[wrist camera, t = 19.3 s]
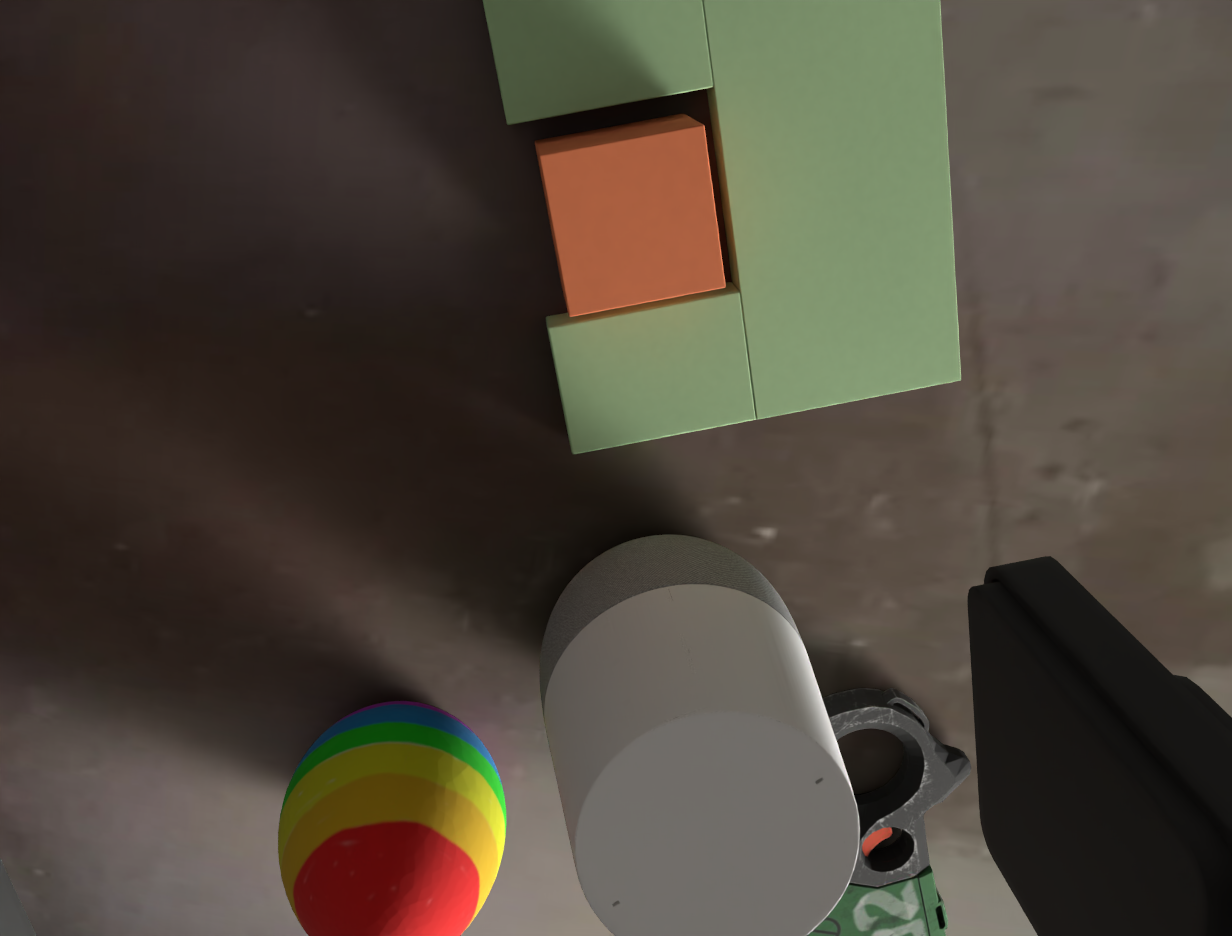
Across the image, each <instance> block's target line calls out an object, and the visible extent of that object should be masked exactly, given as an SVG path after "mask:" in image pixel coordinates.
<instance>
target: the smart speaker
mask: <svg viewBox="0 0 1232 936" xmlns="http://www.w3.org/2000/svg"><path fill="white" fill-rule="evenodd" d="M540 691H541V700H542V708H543V715H544V722H545V728H546V733H547V738H548V742H549V747H550V752H551V756H552V761H553V765H554V770H555V775H556V779H557V784H558V789H559V793H560V798H561V802H562V807H563V812H564V816H565V821H566V826H567V830H568V835H569V839H570V844H571V849H572V853H573V858H574V863H575V867H576V871H577V875H578V879H579V882H580V885H581V888H582V890H583V892H584V895H585V897H586V899H587V901H588V902H589V904H590V906H591V908H592V909H593V911H594V912H595V914H596V915H597V917H598V918H599V919H600V921H601V922H602V923H603V924H604V925H605V926H606V927H607V929H608V930H609V931H610V932H611V933H613V934H614V935H615V936H807V935H808V934H809V933H810V932H812V931H813V930H814V929H815V928H816V927H817V926H818V925H819V924H820V923H821V922H822V921H823V920H824V919H825V918H826V917H827V916H828V915H829V913H830V912H831V911H832V910H833V909H834V907H835V906H836V904H837V903H838V901H839V900H840V899H841V897H842V895H843V894H844V892H845V890H846V888H847V886H848V884H849V882H850V879H851V876H852V874H853V871H854V868H855V864H856V860H857V856H858V850H859V839H860V825H859V815H858V809H857V804H856V800H855V797H854V793H853V790H852V786H851V783H850V780H849V777H848V774H847V771H846V768H845V765H844V762H843V759H842V756H841V753H840V750H839V747H838V744H837V741H836V738H835V735H834V732H833V729H832V726H831V723H830V720H829V717H828V714H827V711H826V708H825V705H824V702H823V699H822V696H821V693H820V690H819V687H818V684H817V681H816V678H815V675H814V672H813V669H812V666H811V663H810V660H809V657H808V654H807V652H806V649H805V646H804V644H803V642H802V639H801V637H800V634H799V632H798V630H797V627H796V625H795V623H794V621H793V619H792V617H791V615H790V613H789V611H788V609H787V607H786V605H785V604H784V602H783V600H782V599H781V597H780V596H779V594H778V593H777V591H776V590H775V589H774V587H773V586H772V585H771V584H770V582H769V581H768V580H767V579H766V578H765V577H764V576H763V575H762V574H761V573H760V572H759V571H758V570H757V569H756V568H754V567H753V566H752V565H751V564H750V563H749V562H747V561H746V560H745V559H743V558H742V557H740V556H739V555H737V554H736V553H734V552H732V551H731V550H729V549H727V548H725V547H723V546H721V545H719V544H716V543H713V542H711V541H708V540H704V539H701V538H696V537H691V536H685V535H654V536H648V537H642V538H638V539H634V540H631V541H628V542H625V543H623V544H620V545H618V546H615V547H613V548H611V549H610V550H608V551H606V552H604V553H602V554H601V555H599V556H598V557H596V558H595V559H593V560H592V561H591V562H589V563H588V564H587V565H586V566H585V567H584V568H582V569H581V570H580V571H579V572H578V573H577V574H576V576H575V577H574V578H573V579H572V580H571V581H570V583H569V584H568V585H567V586H566V588H565V589H564V591H563V592H562V594H561V595H560V597H559V599H558V601H557V603H556V605H555V607H554V609H553V611H552V613H551V616H550V618H549V621H548V624H547V627H546V631H545V634H544V638H543V643H542V648H541V656H540Z"/></svg>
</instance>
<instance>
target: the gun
mask: <svg viewBox="0 0 1232 936" xmlns="http://www.w3.org/2000/svg"><path fill="white" fill-rule="evenodd" d="M822 699H823V702H824V705H825V708H826V711H827V714H828V717H829V720H830V723H831V726H832V729H833V732H834V735H835V738H836V741H837V740H838V739H839V738H841V737H842V736H844V735H846V734H848V733H851V732H853V731H856V730H861V729H871V728H875V729H881V730H885V731H887V732H890V733H892V734H893V735H895V736H897V737H898V738H899V739H900V740H901V741H902V744H903V749H904V755H903V761H902V764H901V766H900V768H899V770H898V772H897V773H896V775H895V776H894V777H893V778H892V779H891V780H890V781H889V782H888V783H887V784H885V785H884V786H883V787H881V788H879V789H877V790H875V791H873V792H870V793H866V794H863V795H854V797H855V800H856V804H857V809H858V815H859V825H860V839H859V850H858V856H857V860H856V864H855V868H854V871H853V874H852V876H851V879H850V882H849V884H848V886H847V888H846V890H845V892H844V894H843V895H842V897H841V899H840V900H839V901H838V903H837V904H836V906H835V907H834V909H833V910H832V911H831V912H830V913H829V915H828V916H827V917H826V918H825V919H824V920H823V921H822V922H821V923H820V924H819V925H818V926H817V927H816V928H815V929H814V930H813V931H812V932H810V933H809V934H808V935H807V936H946V934H945V929H947V926H948V920H947V915H946V911H945V906H944V902H943V900H942V898H941V896H940V894H939V892H938V890H937V888H936V886H935V881H934V876H933V871H932V869H931V867H930V864H929V855H928V849H927V843H926V833H925V824H924V817H923V815H924V813H925V812H926V811H927V810H928V809H929V808H931V807H932V806H933V805H936V804H938V803H941V802H943V801H944V800H945V799H946V797H947V796H948V795H949V794H950V793H951V792H952V791H953V790H954V789H955V788H957V787H958V786H959V785H960V784H961V783H962V782H963V781H964V780H965V779H966V777H967V776H968V775H969V774H970V770H971V765H970V761H969V760H968V758H967V756H966V755H965V753H964V752H963V751H961V750H959V749H957V748H954V747H951V746H947V745H944V744H942V743H941V742H940V741H938V740H937V739H936V738H934V737H933V736H932V735H930V733H929V732H928V730H929V721H928V718H927V717H926V715H925V714H924V712H923V710H922V709H921V708H920V707H919V706H918V705H917V704H916V703H915V702H914V701H913V700H912V699H911V698H910V697H908V696H906V695H905V694H903V693H902V692H900V691H898V690H897V689H893V688H890V689H887V690H885V691H884V692H883V691H881V690H879V689H867V688H858V689H853V690H848V691H844V692H839V693H835V694H832V695H829V696H827V697H824V698H822ZM910 709H911V710H912V711H914V712H915V713H916V714H917V716H918V717H919V719H918V718H917V717H916V716H915V714H914V713H913V712H912V711H911V710H910ZM891 827H896V828H900V829H902V833H901V835H900V837H899V839H897V840H896V841H895V842H894V843H893V844H892V845H890V846H888V847H886V848H884V849H881V850H873V851H871V850H872V849H873V848H874V847H875V846H876V845H877V844H878V843H879V842H881V841H882V840H884V839H886V838H889V837H891V835H892V833H893V832H892V829H891Z"/></svg>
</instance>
